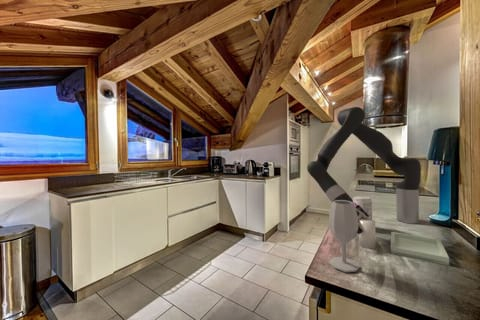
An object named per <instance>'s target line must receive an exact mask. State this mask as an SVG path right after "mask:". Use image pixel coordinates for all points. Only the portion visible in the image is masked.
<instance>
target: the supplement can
mask: <svg viewBox="0 0 480 320" xmlns="http://www.w3.org/2000/svg"><path fill="white" fill-rule="evenodd" d="M352 200H353V203H354V205H355V207H356V206H357V205H360V207H361V208H362V209H363V210H364V211H365V212H366V213H367V214H368V215H369V217H368V219H371V220H373V201H372V199H371V197H369V196H364V195H354V196H353V197H352ZM363 214H364V213H363ZM364 215H365V214H364ZM361 218H362V217H361ZM358 225H359V219H358Z"/></svg>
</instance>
